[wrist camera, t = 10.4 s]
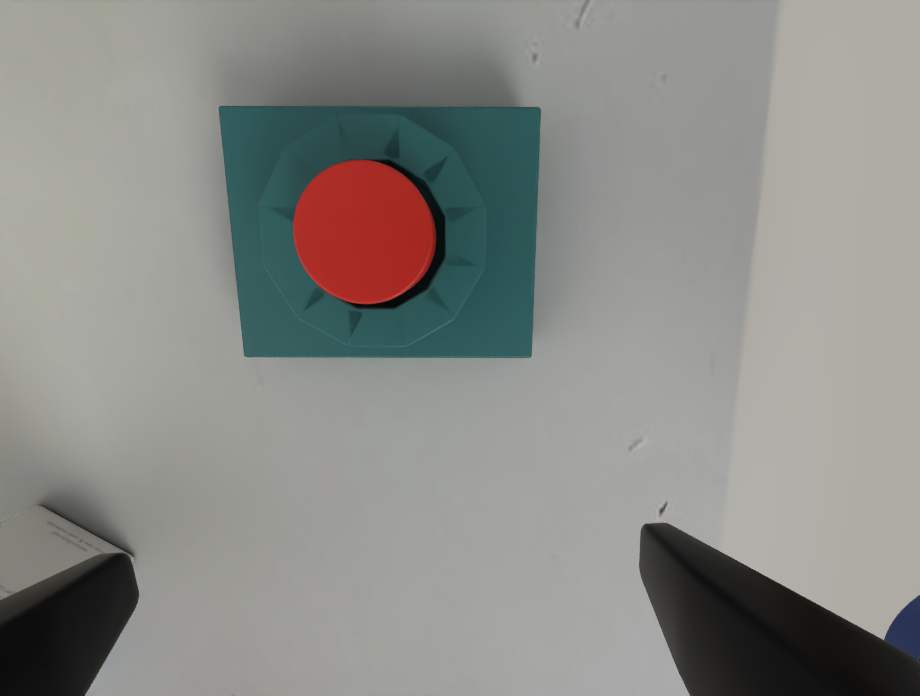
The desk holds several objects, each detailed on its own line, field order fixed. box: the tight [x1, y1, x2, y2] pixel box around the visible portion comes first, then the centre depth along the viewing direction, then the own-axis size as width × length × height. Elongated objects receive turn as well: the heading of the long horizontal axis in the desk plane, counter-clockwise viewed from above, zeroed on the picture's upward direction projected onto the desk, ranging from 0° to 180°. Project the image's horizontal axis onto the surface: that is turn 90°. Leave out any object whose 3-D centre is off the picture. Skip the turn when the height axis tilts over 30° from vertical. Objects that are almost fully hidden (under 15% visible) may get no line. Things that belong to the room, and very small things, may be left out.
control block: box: [219, 106, 541, 358], centre depth 14 cm, size 10×8×4 cm
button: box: [293, 160, 436, 304], centre depth 12 cm, size 4×4×2 cm
